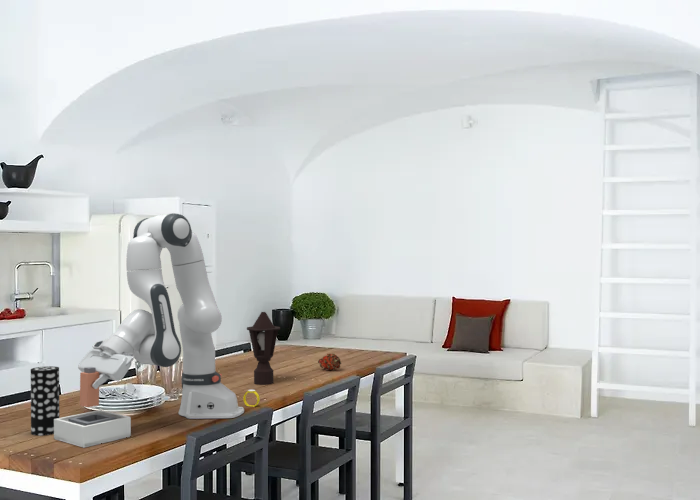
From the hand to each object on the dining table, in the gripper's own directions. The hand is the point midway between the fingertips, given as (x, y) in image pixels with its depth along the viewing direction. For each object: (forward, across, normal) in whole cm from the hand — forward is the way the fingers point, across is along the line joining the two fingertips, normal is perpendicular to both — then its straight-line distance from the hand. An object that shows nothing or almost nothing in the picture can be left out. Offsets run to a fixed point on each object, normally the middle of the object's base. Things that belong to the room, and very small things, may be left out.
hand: (87, 386), depth 230 cm
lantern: (-58, +22, -78) cm, 100 cm away
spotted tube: (+14, +17, -9) cm, 24 cm away
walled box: (+10, -1, -12) cm, 16 cm away
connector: (+4, 0, -5) cm, 6 cm away
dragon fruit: (-88, +21, -107) cm, 140 cm away
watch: (-34, -7, -54) cm, 64 cm away
